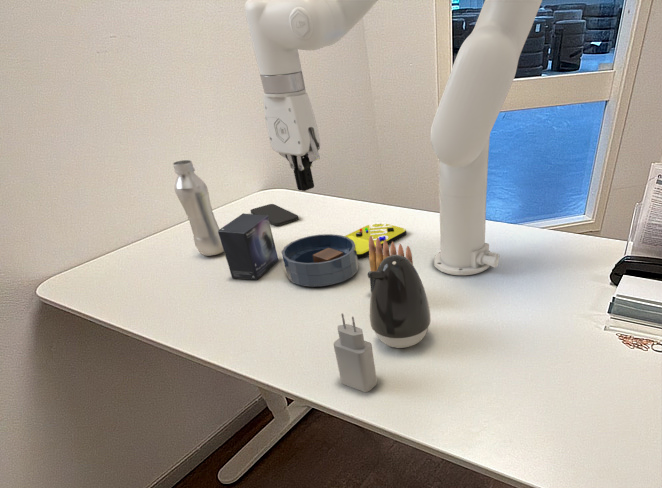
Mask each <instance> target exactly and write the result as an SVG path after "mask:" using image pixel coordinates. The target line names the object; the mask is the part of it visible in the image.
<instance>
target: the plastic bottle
mask: <svg viewBox="0 0 662 488" xmlns="http://www.w3.org/2000/svg"><path fill="white" fill-rule="evenodd" d="M172 166H173V168H174V173H175V174H176V175H177V177H176V180H175V183H174V192H175V195H176V197H177V198H178V200H179V202H180V204H181V206H182V208H183V210H184V212H185V215H186V216H187V219H188V221H189V225H190V228H191V231H192V235H193V242H194V246H195V247H196V250H197V251H198V252H199V253H200V254H201V255H203V256H209V257H210V256H217V255H219V254H222V253H224V250H223V247H222V243H221V240H220V237H219V234H218V230H219V229H220V227H219V225H218V223H217V220H216V218H215V214H214V212H213V207H212V203H211V200H210V194H209V189H208V185H207V184H206V183H205V181H204V180H203V179H202V178H201V177H199V175H198V174H196V173H195V171H196V169H195V167H194V165H193V162H192V160H191V159H190V160H189V159H184V160H182V159H181V160H178V161H174V162H173V163H172Z"/></svg>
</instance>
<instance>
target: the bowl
mask: <svg viewBox="0 0 662 488" xmlns="http://www.w3.org/2000/svg"><path fill="white" fill-rule="evenodd" d="M345 236H346V235H342V234H332V233H323V234H314V235H313V234H312V235H308V236H304V237H300V238H298V239H296V240H294V241H291V242H289V243H288V244H286V246H284V247H283V249H282V250H281V256H282V260H283V264H284V265H283V266H284V268H285V272H286V276H287V279H288V280H289V281H290V282H291V283H293V284H296V285H298V286H304V287H312V288H313V287H326V286H327V287H328V286H333V285H336V284H339V283H342V282H345V281H347V280H348V279H351V278H353V276H355V274H356V273H358V270H359V267H360V265H359V260H358V259H357V252H356V245H355V243H354V241H353V240H351V239H350V238H348V237H345ZM327 248H331V249H334V250H337V251H340V252H343V254H344V256H342V257H340V258H337V259H334V260H330V261H325V262H319V263H314V259H313V255H314V254H316V253H318V252H320V251H322V250H324V249H327Z"/></svg>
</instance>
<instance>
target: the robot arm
mask: <svg viewBox="0 0 662 488" xmlns="http://www.w3.org/2000/svg"><path fill="white" fill-rule="evenodd" d="M377 2H379V0H246V2H245V3H244V15H245V19H246V23H247V28H248V32H249V35H250V39H251V43H252V47H253V51H254V56H255V60H256V65H257V68H258V72H259V77H260V80H261V84H262V89H263V92H264V94H262V103H263V111H264V118H265V124H266V130H267V135H268V138H269V143H270V146H271V149H272V150H273V151H274V152H276V153H278V154H279V155H280V157H283V158H285V159H286V160H287V161H288V163H289V166H290V169H291V170H293V175H294V179H295V183H296V188H297V190H298V191H301V192H306V191H309V190H311V189H314V187H315V182H314V177H313V173H312V167H313V162H316V161H319V160H320V158H321V157H320V154H319V151H320V149H321V141H320V135H319V130H318V125H317V121H316V116H315V114H314V109H313V106H312V103H311V100H310V97H309V94H308V93H307V91H306V90H307V89H306V86H305V85H306V84H305V79H304V74H303V70H302V65H301V59H300V53H299V50H300V51H316V50H320V49H323V48H325V47H330V46H333V45H335V44H336V43H338V42H340V40H342V39H343V38H344V37H345V36H346V35H347V34H348V33H349V32H350V31H351V30H352V29H353V28H354V27H355V26H356V25H357V24H358V23H359V22H360V21H361V19H363V18H364V17H365V16H366V15H367V14H368V12H369V11H370V10H371V9H372V8H374V5H375V4H377ZM542 2H543V0H484V2H483V5H482V7H481V9H480V12H479V15H478V18H477V20H476V22H475V25H474V28H473V30H472V31H471V33H470V34H469V35H468V36H467V37H466V38H465V40H464V41H463V42H462V44H461V45H460V48H459V50H458V51H457V54H456V56H455V59H454V61H453V65H452V68H451V70H450V73H449V76H448V78H447V82H446V84H445V87H444V90H443V91H442V96H441V98H440V100H439V103H438V106H437V108H436V111H435V114H434V117H433V120H432V123H431V126H430V135H429V139H430V146H431V148H432V151H433V153H434V155H435V157H436V158H437V159H438V195H439V196H438V198H439V199H438V202H439V235H440V236H439V237H440V238H439V239H440V251H439V252H437V254H435V256H434V257H433V265H434V267H435V268H436V269H437V270H438V271H440V272H442V273H445V274H446V275H447V274H448V275H452V276H472V275H477V274H481V273H482V272H484V271H486V270H487V269H489V268H490V267H492V268H497V267H498V266H499V262H500V254H499V253H497V252H493V251H492V252H491V250H490V243H488V242H486V222H487V221H486V219H487V191H488V174H489V172H488V170H489V154H490V153H489V152H490V139H491V132H492V130H493V129H494V125H495V123H496V121H497V119H498V117H499V114H500V112H501V110H502V108H503V105H504V103H505V101H506V98H507V96H508V94H509V93H510V89H511V87H512V84H513V82H514V80H515V76H516V73H517V70H518V64H519V60H520V56H521V54H522V51H523V49H524V46H525V44H526V41H527V39H528V37H529V35H530V32H531V29H532V28H533V24H534V22H535V19H536V17H537V15H538V12H539V9H540V7H541V5H542Z"/></svg>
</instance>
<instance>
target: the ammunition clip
mask: <svg viewBox="0 0 662 488" xmlns="http://www.w3.org/2000/svg"><path fill="white" fill-rule="evenodd" d="M391 255H401V256H404V257H406V258H407V259H408V260H409V261H410V262H411V263H412V265H413V266H414V261H413V253H412V250H411V247H410V246H409V245H407V247H406V249H405V252H404V248H403V245H402V244H401V243H399V245H398V248H396V245H395V242H392V243H391V244H390V247H389V245H388V244H387V241H386V240H384V243H383V248H382V246H381V242H380V240H379V238H377V240H376V250H375V244H374V241H373V238H372V236H370V237H369V256H368V262H369V270H370V271H377V269H378V267H379V265H380V263H381V262H382V261H383V260H384V259H385V258H386V257H388V256H391ZM373 282H374V279H370V278H369V285H370V292H371V291H372V286H373Z"/></svg>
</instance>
